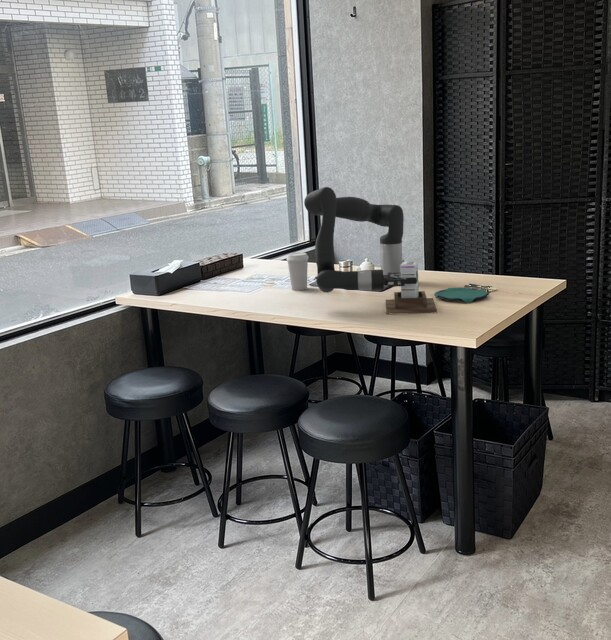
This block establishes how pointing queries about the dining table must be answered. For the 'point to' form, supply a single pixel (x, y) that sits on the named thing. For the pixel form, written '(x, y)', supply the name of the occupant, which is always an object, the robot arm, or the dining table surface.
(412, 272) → the syrup box
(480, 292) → the green flat pad
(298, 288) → the coffee cup
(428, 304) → the socket stand
